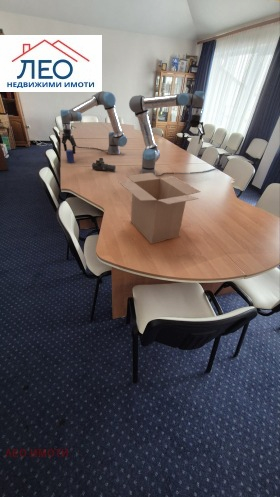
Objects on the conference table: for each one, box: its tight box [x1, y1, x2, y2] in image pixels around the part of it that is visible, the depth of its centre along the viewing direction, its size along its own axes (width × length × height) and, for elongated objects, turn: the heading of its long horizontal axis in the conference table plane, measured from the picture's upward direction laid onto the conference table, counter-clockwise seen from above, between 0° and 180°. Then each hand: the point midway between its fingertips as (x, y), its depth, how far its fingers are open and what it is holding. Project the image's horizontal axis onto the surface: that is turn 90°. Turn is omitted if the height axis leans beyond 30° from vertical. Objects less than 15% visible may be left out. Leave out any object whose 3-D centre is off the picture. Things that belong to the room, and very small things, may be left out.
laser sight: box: [91, 157, 117, 173], centre depth 211 cm, size 10×22×10 cm, turn 78°
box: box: [117, 173, 201, 245], centre depth 124 cm, size 44×36×27 cm
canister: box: [65, 149, 75, 164], centre depth 226 cm, size 7×7×12 cm
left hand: (70, 152), depth 224 cm, fingers open, 13 cm apart
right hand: (190, 142), depth 191 cm, fingers open, 13 cm apart
